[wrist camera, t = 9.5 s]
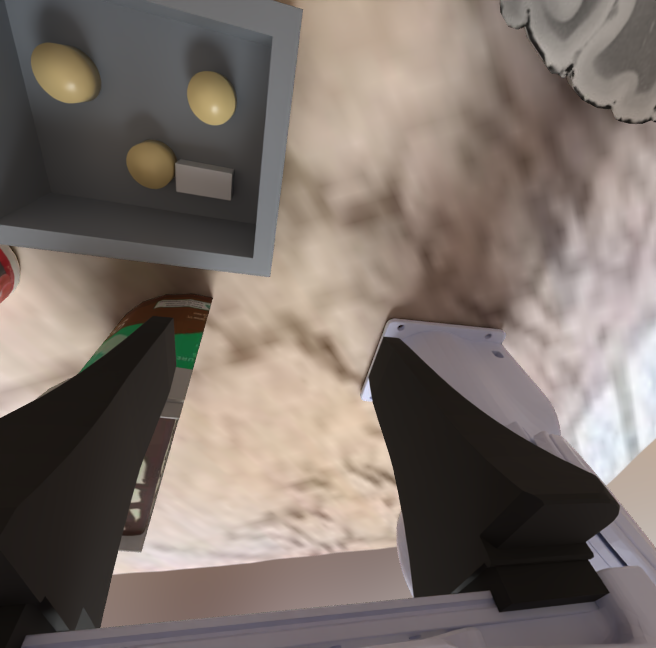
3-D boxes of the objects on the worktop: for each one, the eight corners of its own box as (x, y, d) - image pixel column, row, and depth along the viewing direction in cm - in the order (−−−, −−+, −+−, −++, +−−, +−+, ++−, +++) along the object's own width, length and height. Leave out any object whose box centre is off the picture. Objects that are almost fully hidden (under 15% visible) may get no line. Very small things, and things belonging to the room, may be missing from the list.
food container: (102, 243, 18) (-35, 373, 10) (218, 277, 20) (182, 408, 12) (90, 396, 24) (-1, 553, 16) (181, 410, 26) (140, 557, 18)
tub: (294, 29, 14) (302, 9, 10) (270, 235, 19) (269, 277, 15) (-23, -63, 12) (-180, -137, 8) (45, 201, 17) (-29, 240, 13)
